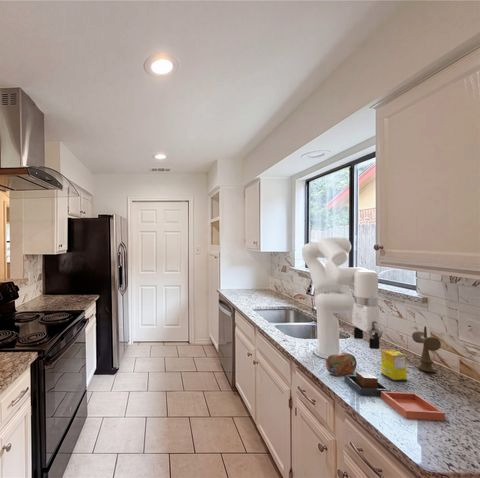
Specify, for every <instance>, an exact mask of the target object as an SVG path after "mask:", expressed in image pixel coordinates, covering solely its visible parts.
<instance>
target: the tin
mask: <svg viewBox="0 0 480 478" xmlns="http://www.w3.org/2000/svg"><path fill="white" fill-rule="evenodd" d="M357 365H358V364H357V359H356V357H355V355H353V354H351V353H347V352H340V354H335V355H330V356H329V357H328V358H327V359H325V367H326V371H327V372H328V373H329V374H331V375H333V376H335V377H340V376H344V375H351V374H353V373H355V372H356V368H357Z"/></svg>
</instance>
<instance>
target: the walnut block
mask: <svg viewBox="0 0 480 478" xmlns="http://www.w3.org/2000/svg"><path fill="white" fill-rule="evenodd" d="M355 375H356V384H357V385H359V386H360V387H361V388H373V389H378V381H379V378H378V377H376V376H375V375H374V374H373V373H371V372H370V371H355Z"/></svg>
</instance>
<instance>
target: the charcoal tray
mask: <svg viewBox="0 0 480 478" xmlns="http://www.w3.org/2000/svg"><path fill="white" fill-rule="evenodd" d="M343 377H344V382H345V383H346V384H347V385H348V386H350V387H351V388H352V390H354V391H355V392H356V393H357V394H358V395H359V396H364V397H365V396H366V397H381V391H387V392H392V390H391V389H389V388H388V387H387V386H385V385H384V384H383V383H382V382H380V381H379V380H378V389H373V388H361V387H360V386H359V385H357V384H356V374H353V375H352V374H345V375H343Z"/></svg>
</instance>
